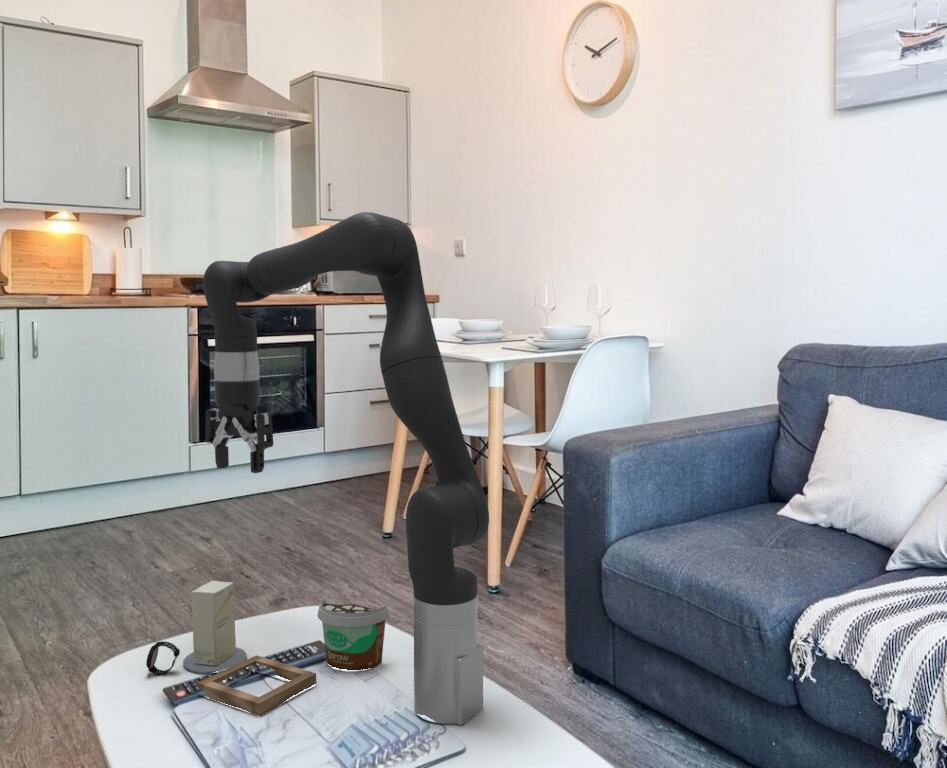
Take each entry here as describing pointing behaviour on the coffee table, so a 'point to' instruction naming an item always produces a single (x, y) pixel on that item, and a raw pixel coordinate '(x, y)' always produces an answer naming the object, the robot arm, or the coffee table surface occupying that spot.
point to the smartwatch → (153, 656)
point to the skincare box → (213, 622)
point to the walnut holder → (251, 702)
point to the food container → (353, 635)
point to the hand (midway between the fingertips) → (239, 470)
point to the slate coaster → (207, 669)
